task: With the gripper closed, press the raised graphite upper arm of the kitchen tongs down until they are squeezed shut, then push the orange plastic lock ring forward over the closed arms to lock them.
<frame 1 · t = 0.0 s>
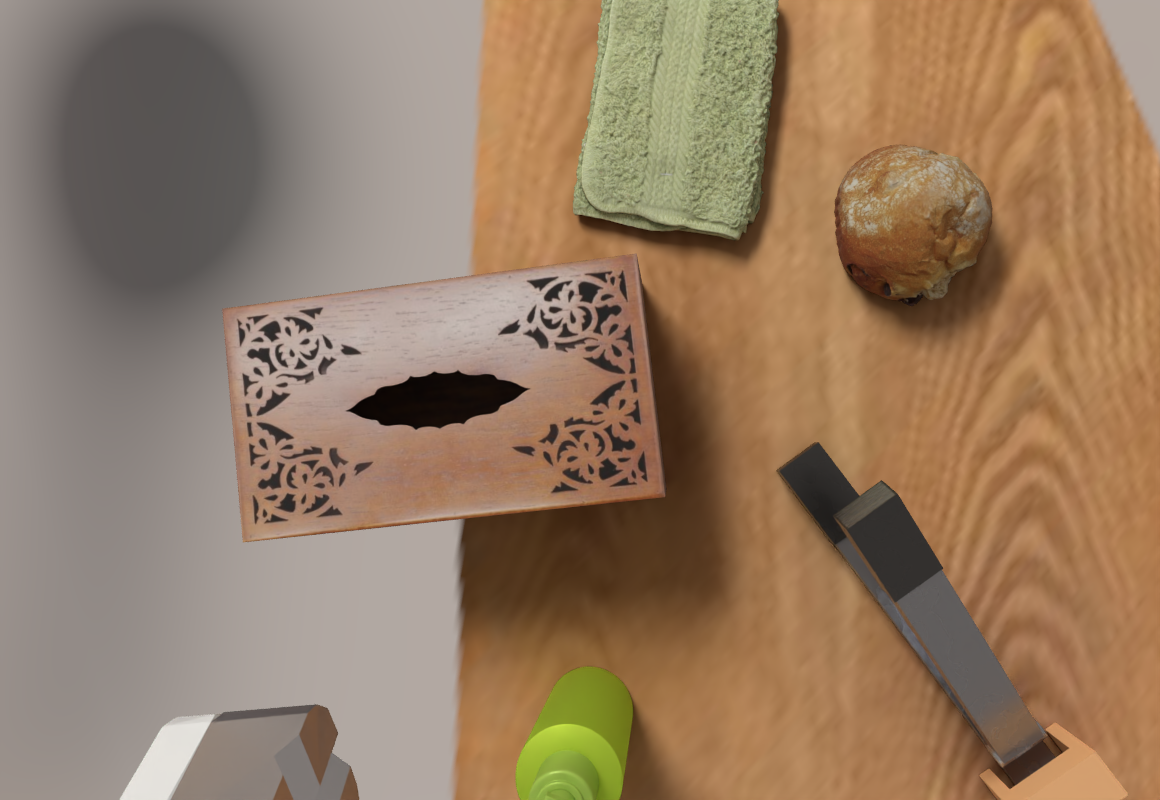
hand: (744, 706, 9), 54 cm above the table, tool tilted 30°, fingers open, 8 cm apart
tongs upper arm: (949, 637, 53), point 8 cm above the table, hinge at 30.0°
soap dispenser: (587, 715, 63), on the table
tongs lower arm: (924, 627, 61), on the table
bread roll: (902, 232, 62), on the table
washcloth: (679, 115, 65), on the table
tissue box cover: (473, 407, 65), on the table
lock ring: (1049, 784, 56), point 3 cm above the table, slide at 0.0 cm
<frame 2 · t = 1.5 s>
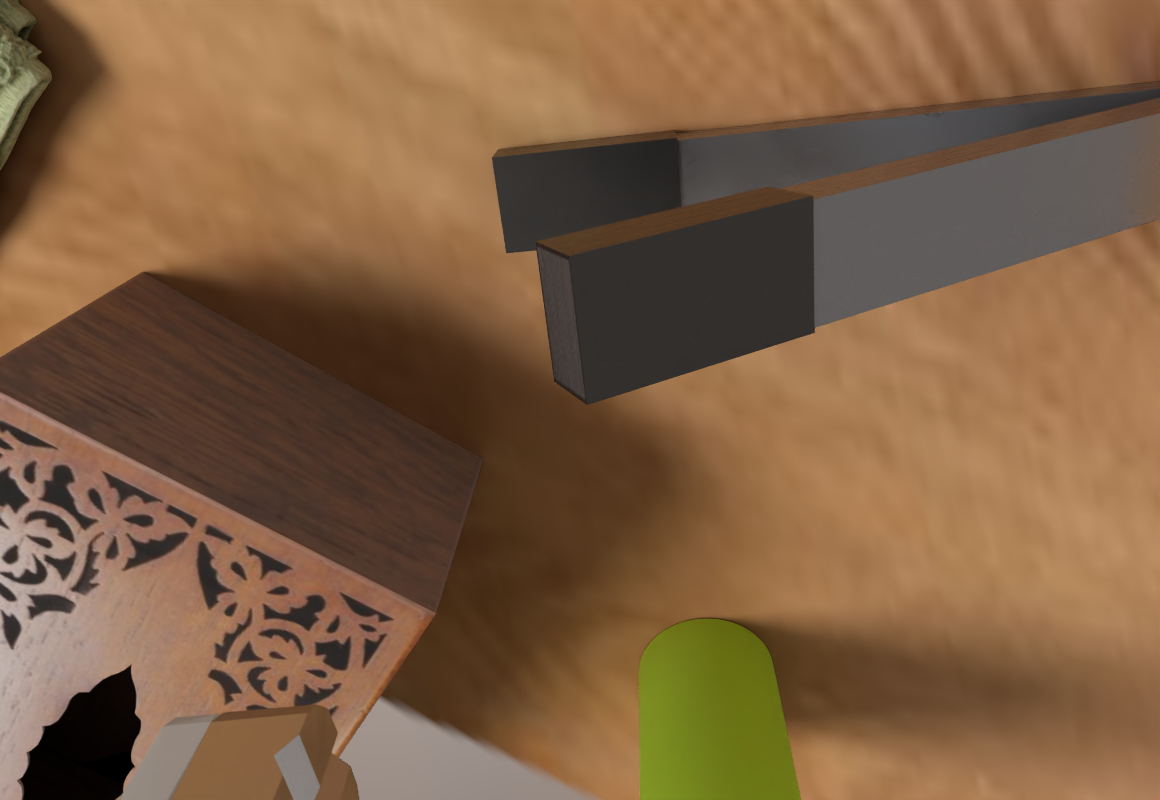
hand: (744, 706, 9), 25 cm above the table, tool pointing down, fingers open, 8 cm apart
tongs upper arm: (959, 212, 23), point 8 cm above the table, hinge at 30.0°
soap dispenser: (711, 676, 40), on the table
tongs lower arm: (918, 153, 31), on the table
tissue box cover: (203, 591, 40), on the table
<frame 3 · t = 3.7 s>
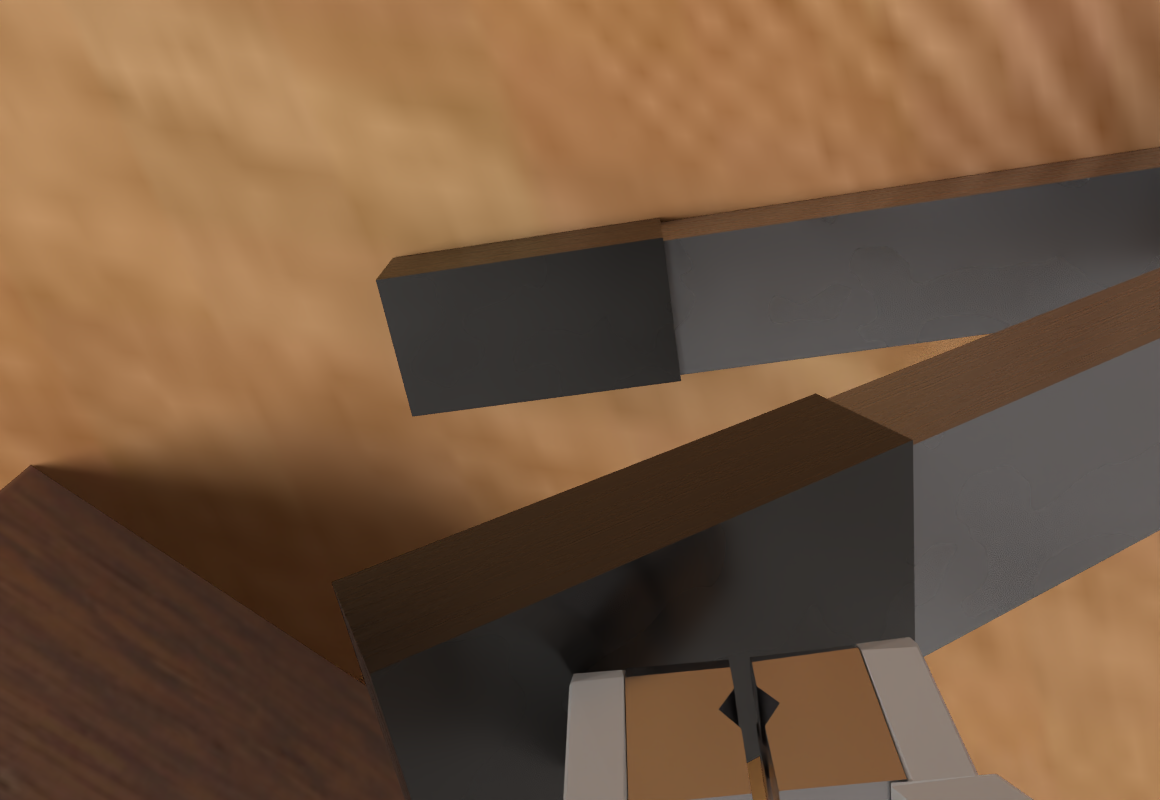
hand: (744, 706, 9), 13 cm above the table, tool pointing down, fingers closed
tongs lower arm: (1037, 234, 20), on the table
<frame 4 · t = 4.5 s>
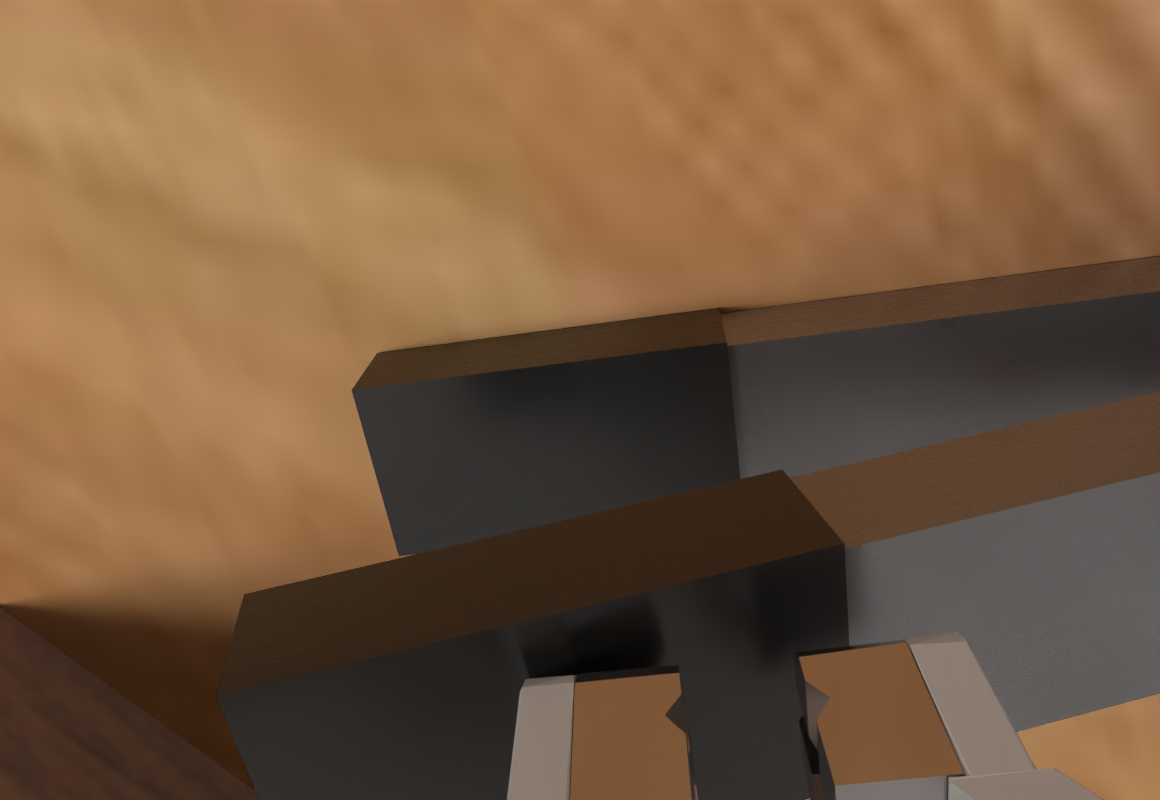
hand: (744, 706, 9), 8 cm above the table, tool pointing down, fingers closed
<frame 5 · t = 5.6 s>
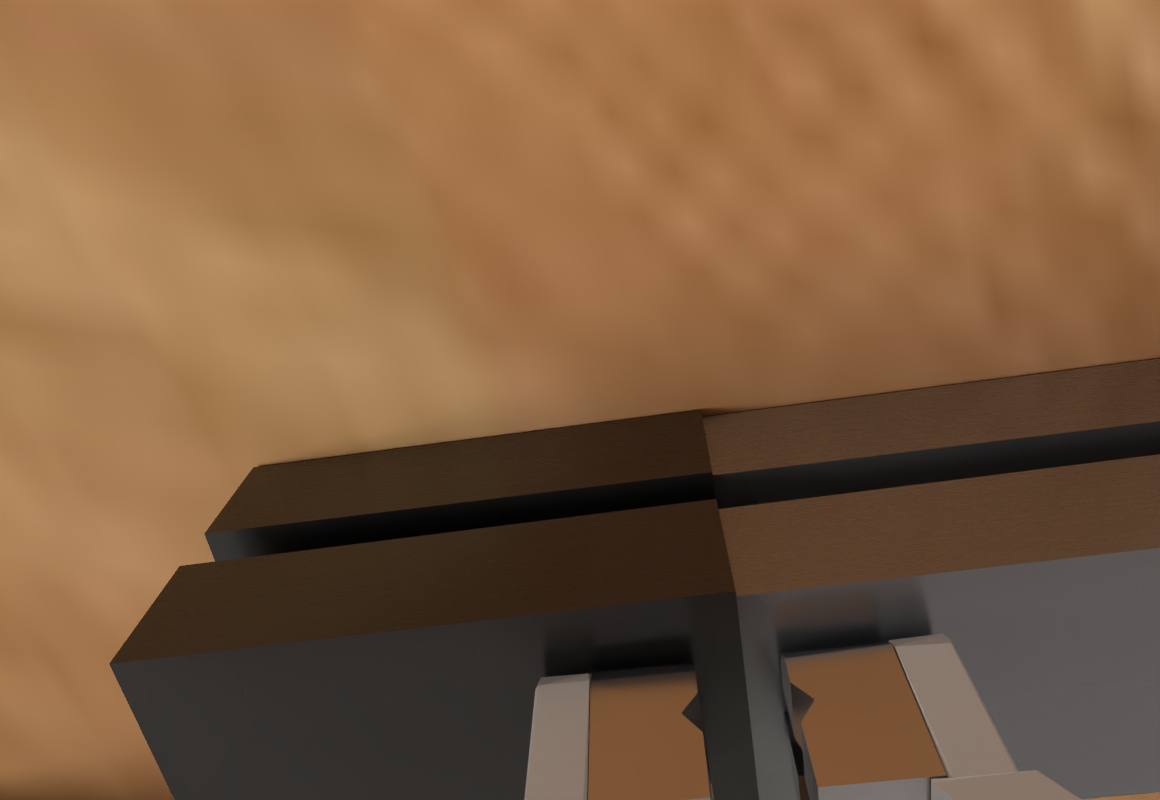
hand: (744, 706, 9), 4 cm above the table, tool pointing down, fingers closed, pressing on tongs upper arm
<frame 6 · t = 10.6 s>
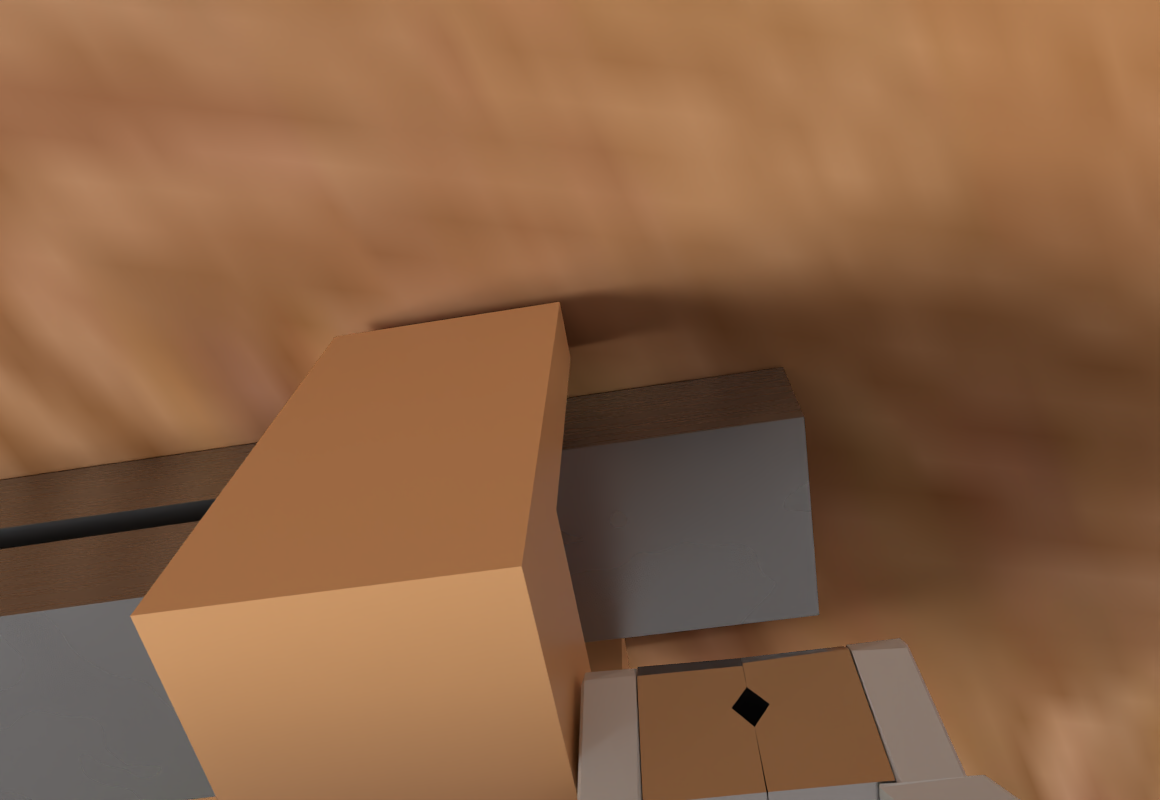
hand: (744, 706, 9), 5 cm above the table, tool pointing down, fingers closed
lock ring: (466, 647, 11), point 3 cm above the table, slide at 1.3 cm, touching gripper
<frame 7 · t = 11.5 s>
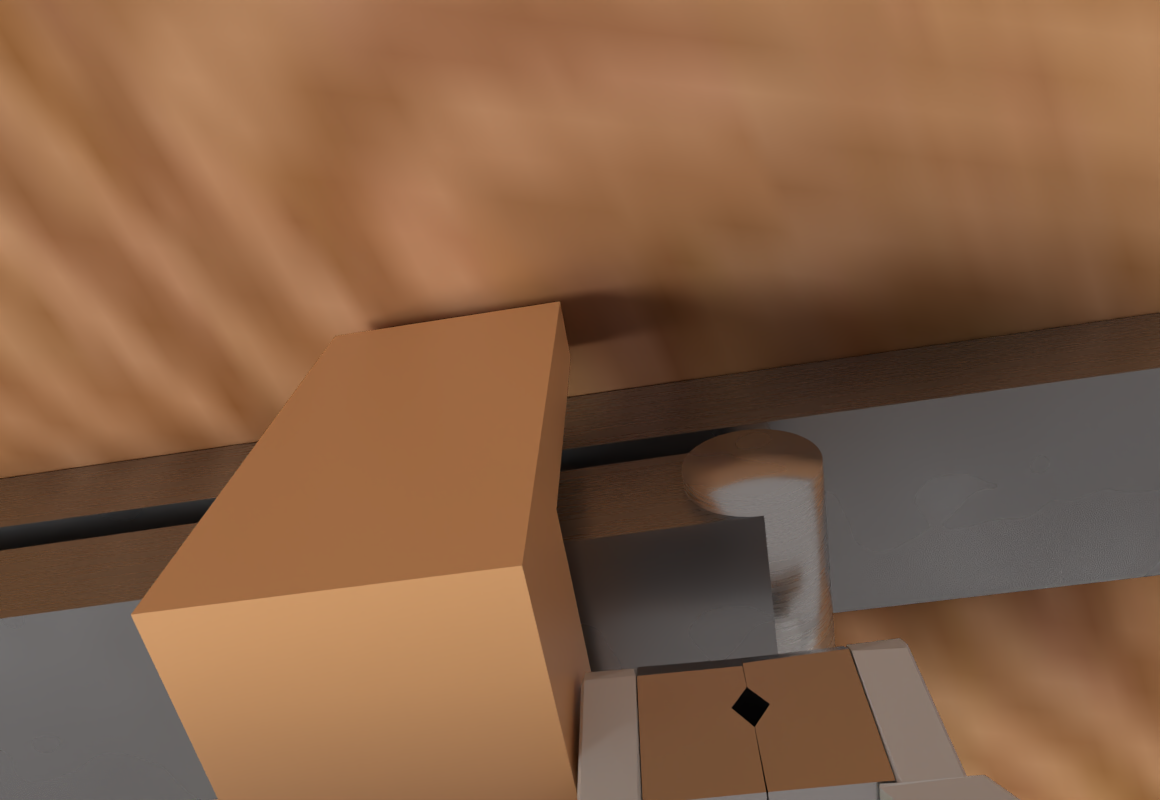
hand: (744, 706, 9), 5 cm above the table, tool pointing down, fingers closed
tongs lower arm: (204, 540, 14), on the table
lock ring: (466, 647, 11), point 3 cm above the table, slide at 6.5 cm, touching gripper
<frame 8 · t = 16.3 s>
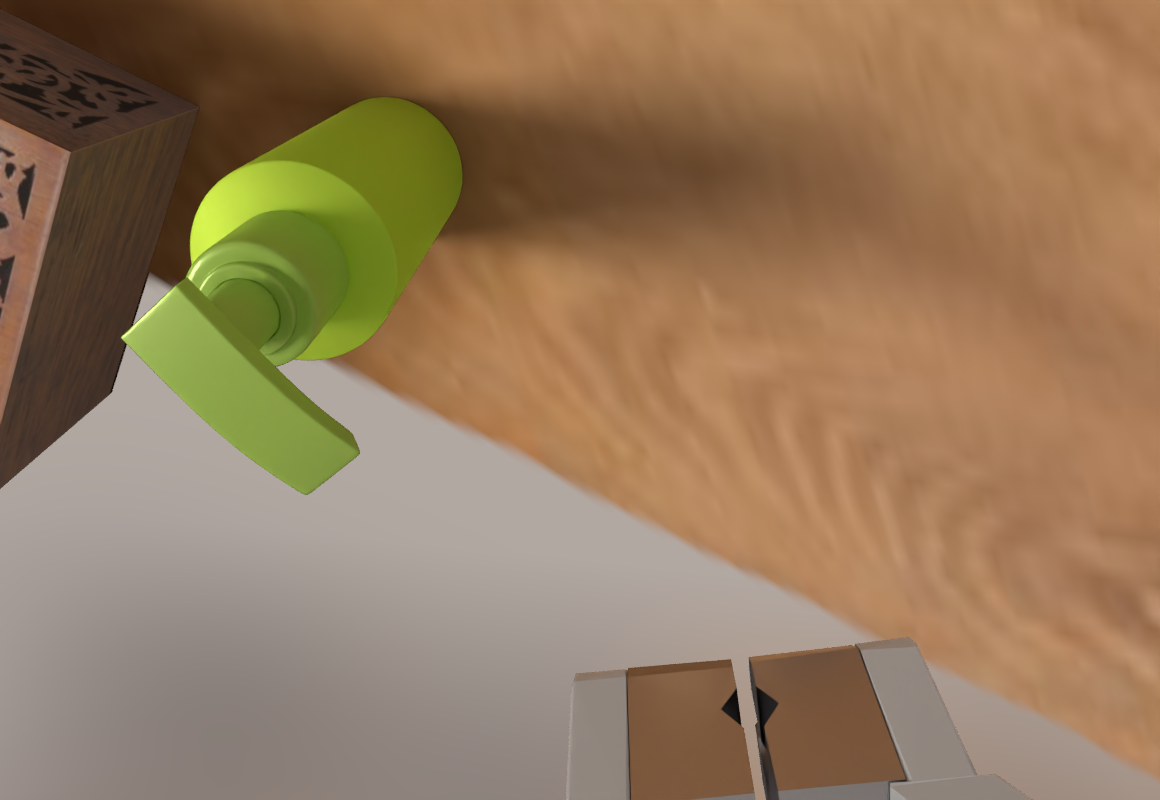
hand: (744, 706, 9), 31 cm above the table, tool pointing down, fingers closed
soap dispenser: (401, 180, 38), on the table
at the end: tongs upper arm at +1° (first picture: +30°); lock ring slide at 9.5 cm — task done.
